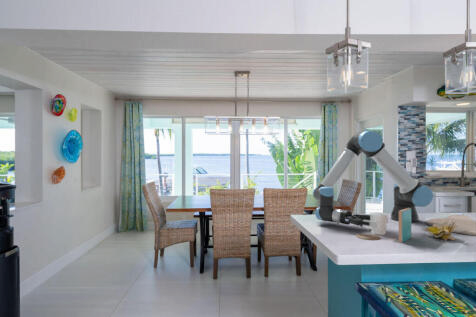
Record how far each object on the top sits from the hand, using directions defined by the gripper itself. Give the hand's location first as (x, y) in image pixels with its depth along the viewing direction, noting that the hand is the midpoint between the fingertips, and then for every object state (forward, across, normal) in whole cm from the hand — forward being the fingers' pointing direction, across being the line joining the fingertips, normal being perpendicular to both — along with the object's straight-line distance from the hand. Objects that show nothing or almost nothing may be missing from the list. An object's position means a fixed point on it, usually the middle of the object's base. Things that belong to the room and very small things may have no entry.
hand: (382, 222), depth 156 cm
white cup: (-2, 0, -6) cm, 7 cm away
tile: (+12, +5, -6) cm, 14 cm away
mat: (+18, +4, -6) cm, 19 cm away
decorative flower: (+22, -12, -6) cm, 26 cm away
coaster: (-2, +12, -6) cm, 13 cm away
